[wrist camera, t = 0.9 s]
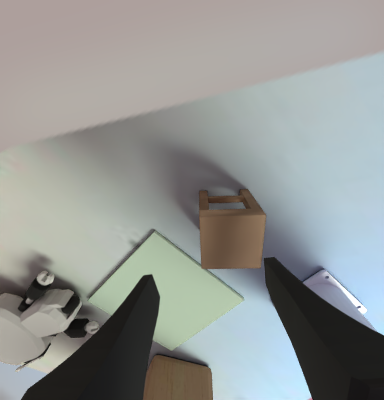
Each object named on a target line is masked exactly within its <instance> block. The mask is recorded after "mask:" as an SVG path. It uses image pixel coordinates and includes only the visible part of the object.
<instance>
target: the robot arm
mask: <svg viewBox="0 0 384 400" xmlns="http://www.w3.org/2000/svg"><path fill="white" fill-rule="evenodd" d="M264 267H265V280H266V286H267V288H268V291H269V294H270V297H271V300H272V302H273V306H274V307H275V309H276V311H277V313H278V315H279V317H280V319H281V321H282V323H283V326H284V328H285V330H286V332H287V334H288V336H289V338H290V340H291V343H292V345H293V347H294V350H295V353H296V355H297V358H298V361H299V363H300V366H301V369H302V371H303V374H304V377H305V380H306V382H307V385H308V388H309V391H310V393H311V396H312V399H313V400H384V335H382V334H380V333H378V332H377V331H376V330H375V329H374V327H373V326H372V325H371V324H370V323H369V322H368V320H367V319H366V318H365V317H364V316H363V314H364V313H365V312H367V309H366V308H365V306H363V305H362V304H361V303H360V302H359V301H358V300H357V299H356V298H355V297H354V296H353V295H352V294H351V293H350V292H349V291H348V290H346V289H345V288H344V287H343V286H342V285H341V284H340V283H339V282H338V281H337V280H336V279H335V278H334V277H333V276H332V275H330V274H329V273H328V272H327V271H326V270H321V271H319V272H318V273H316V274H315V275H313V276H312V277H310V278H309V279H307V280H305V281H304V282H301V281H300V280H299V279H298V278H296V277H295V276H294V275H293V274H292V273H291V272H290V271H289V270H287V269H286V268H285V267H284V266H283V265H282V264H281V263H280V262H279V261H278V260H277V259H276V258H275V257H271V258H264ZM325 276H326V277H325ZM159 305H160V295H159V292H158V289H157V286H156V283H155V281H154V278H153V275H152V274H149V275H143V276H142V278H141V279H140V280H139V282H138V283H137V284H136V286H135V287H134V288H133V290H132V291H131V292H130V294H129V295H128V296H127V297H126V299H125V300H124V301H123V303H122V304H121V305H120V306H119V307H118V309H117V310H116V311H115V312H114V313H113V315H112V316H111V317H110V318H109V319H108V320H107V321H106V323H105V324H104V325H103V326H102V327H101V328H100V329H99V330H98V331H97V332H96V333H95V334H94V335H93V336H92V337H91V338H90V339H89V340H88V341H87V342H85V343H84V344H83V345H82V346H81V347H80V348H79V349H78V350H77V351H76V352H75V353H73V354H72V355H71V356H70V357H69V358H68V359H66V360H65V361H64V362H63V363H61V364H60V365H59V366H58V367H57V368H55V369H54V370H53V371H51V372H50V373H49V374H47V375H46V376H45V377H44V378H42V379H41V380H39V381H38V382H37V383H35V384H34V385H33V386H31V387H30V388H29V389H28V390H27V391H26V393H25V394H24V396H23V397H22V399H21V400H143V396H144V387H145V379H146V372H147V365H148V359H149V354H150V349H151V345H152V340H153V336H154V331H155V327H156V323H157V318H158V313H159Z"/></svg>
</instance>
